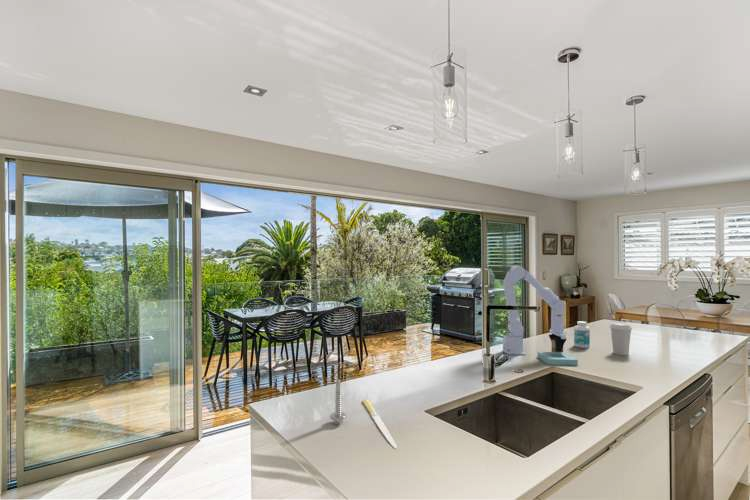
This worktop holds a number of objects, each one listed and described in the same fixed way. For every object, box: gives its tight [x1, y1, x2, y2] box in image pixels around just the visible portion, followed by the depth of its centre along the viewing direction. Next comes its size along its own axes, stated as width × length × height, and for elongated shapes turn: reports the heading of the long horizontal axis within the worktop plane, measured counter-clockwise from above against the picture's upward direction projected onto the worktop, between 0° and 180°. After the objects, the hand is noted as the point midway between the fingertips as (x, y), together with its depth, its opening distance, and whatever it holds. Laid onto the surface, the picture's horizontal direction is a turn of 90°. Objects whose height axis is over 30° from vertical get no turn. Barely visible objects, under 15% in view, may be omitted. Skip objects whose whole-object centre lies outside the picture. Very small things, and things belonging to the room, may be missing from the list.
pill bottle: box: [573, 320, 591, 349], centre depth 206 cm, size 8×7×14 cm
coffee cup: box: [609, 322, 633, 356], centre depth 192 cm, size 10×10×15 cm
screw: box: [329, 379, 347, 426], centre depth 113 cm, size 13×5×5 cm
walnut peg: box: [551, 339, 564, 352], centre depth 190 cm, size 4×4×7 cm
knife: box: [361, 398, 398, 450], centre depth 115 cm, size 1×33×5 cm
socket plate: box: [537, 351, 579, 366], centre depth 178 cm, size 13×13×2 cm
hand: (557, 350), depth 190 cm, fingers closed on walnut peg, 4 cm apart
